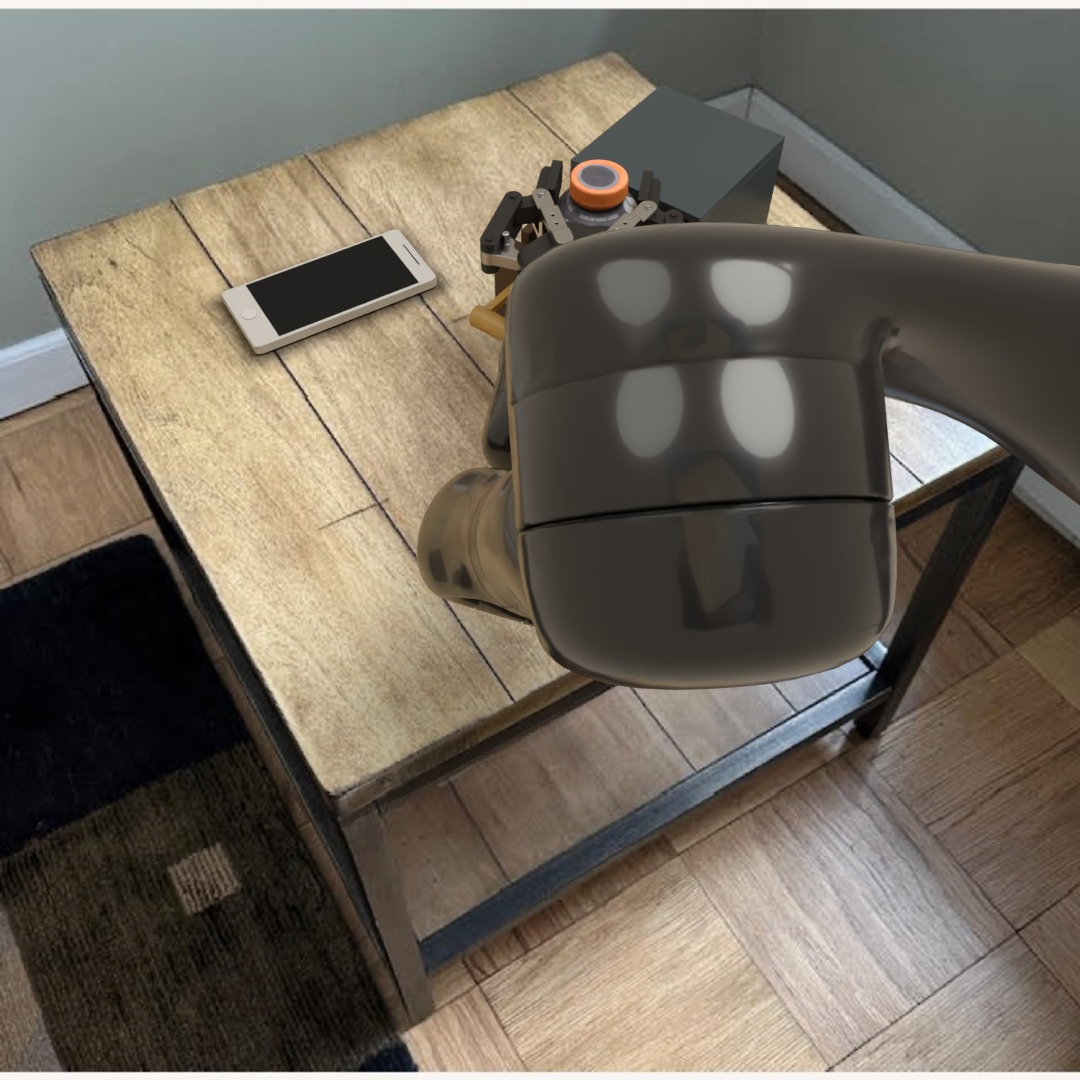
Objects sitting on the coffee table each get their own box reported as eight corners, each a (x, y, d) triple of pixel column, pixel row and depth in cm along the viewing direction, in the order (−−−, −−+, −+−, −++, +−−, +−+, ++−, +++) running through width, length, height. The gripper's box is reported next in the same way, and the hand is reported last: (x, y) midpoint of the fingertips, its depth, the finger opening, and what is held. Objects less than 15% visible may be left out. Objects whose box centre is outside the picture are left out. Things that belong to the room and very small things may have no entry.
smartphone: (222, 300, 86) (219, 291, 85) (398, 235, 91) (397, 226, 90) (257, 356, 83) (255, 347, 82) (438, 286, 87) (438, 277, 87)
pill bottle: (641, 289, 85) (656, 162, 76) (612, 338, 81) (624, 211, 72) (571, 267, 86) (577, 140, 77) (539, 314, 83) (542, 187, 74)
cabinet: (684, 317, 86) (700, 218, 78) (566, 258, 90) (570, 159, 82) (764, 235, 92) (785, 136, 84) (650, 184, 95) (660, 84, 88)
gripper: (688, 308, 64) (710, 139, 74) (448, 278, 65) (501, 117, 75) (674, 397, 70) (696, 230, 80) (454, 368, 71) (503, 208, 81)
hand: (601, 176), depth 77 cm, fingers closed on pill bottle, 5 cm apart
